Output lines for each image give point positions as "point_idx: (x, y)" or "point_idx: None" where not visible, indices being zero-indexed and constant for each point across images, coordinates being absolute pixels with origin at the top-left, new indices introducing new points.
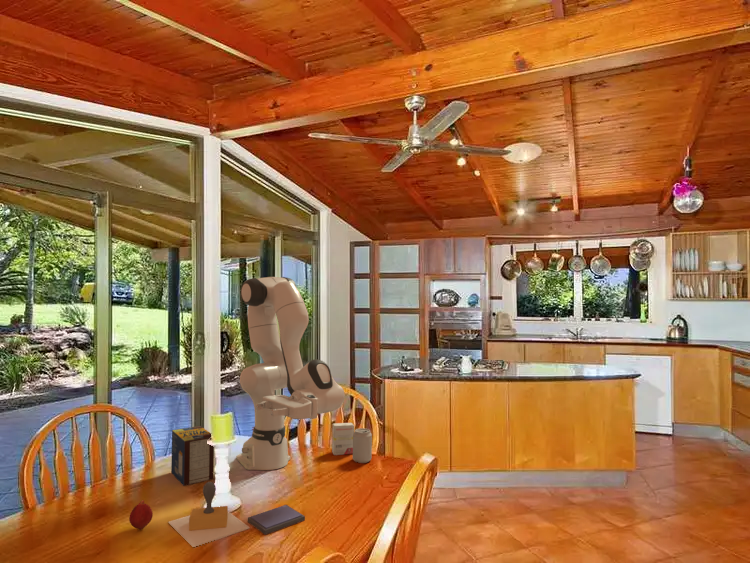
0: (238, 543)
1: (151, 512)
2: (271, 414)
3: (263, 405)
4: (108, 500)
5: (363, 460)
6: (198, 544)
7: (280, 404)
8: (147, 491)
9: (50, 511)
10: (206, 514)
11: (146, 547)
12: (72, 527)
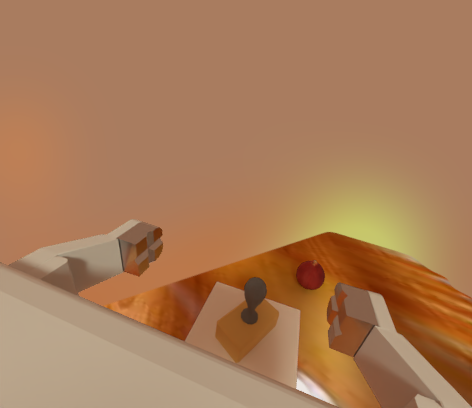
0: (169, 311)
1: (303, 276)
2: (157, 245)
3: (391, 384)
4: (434, 322)
5: None
6: (215, 286)
7: (126, 318)
8: (464, 383)
9: (417, 276)
10: (243, 307)
11: (261, 267)
12: (358, 266)
